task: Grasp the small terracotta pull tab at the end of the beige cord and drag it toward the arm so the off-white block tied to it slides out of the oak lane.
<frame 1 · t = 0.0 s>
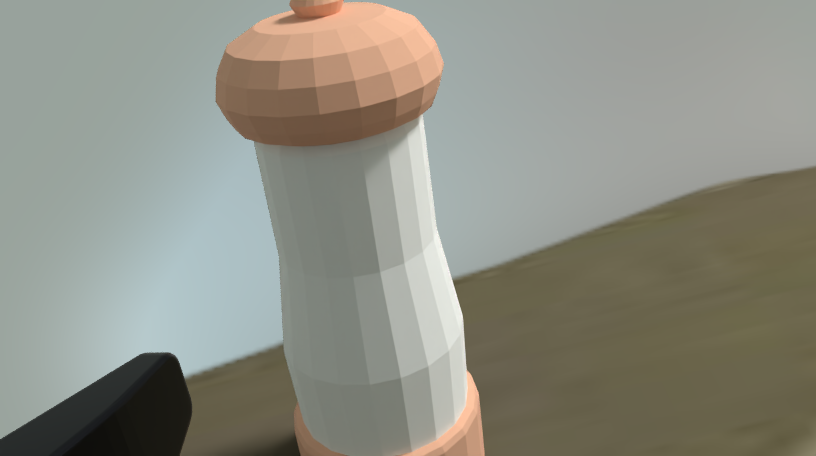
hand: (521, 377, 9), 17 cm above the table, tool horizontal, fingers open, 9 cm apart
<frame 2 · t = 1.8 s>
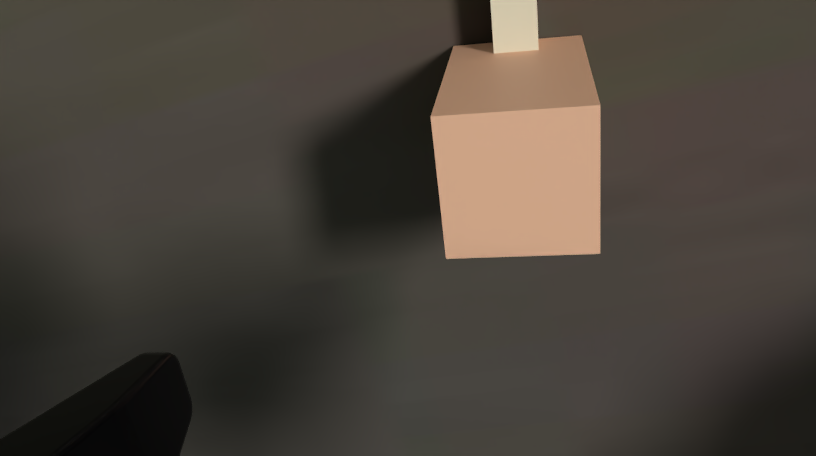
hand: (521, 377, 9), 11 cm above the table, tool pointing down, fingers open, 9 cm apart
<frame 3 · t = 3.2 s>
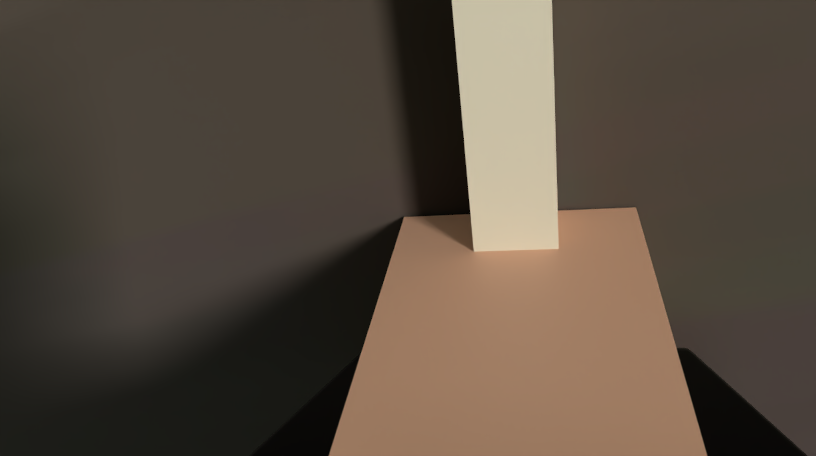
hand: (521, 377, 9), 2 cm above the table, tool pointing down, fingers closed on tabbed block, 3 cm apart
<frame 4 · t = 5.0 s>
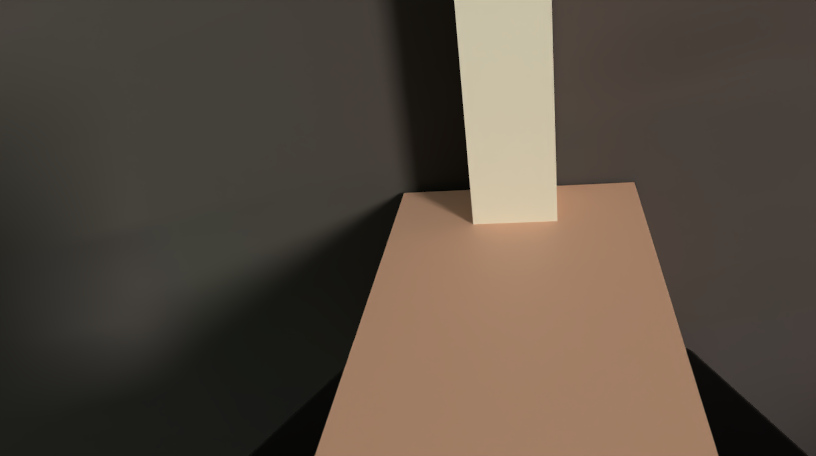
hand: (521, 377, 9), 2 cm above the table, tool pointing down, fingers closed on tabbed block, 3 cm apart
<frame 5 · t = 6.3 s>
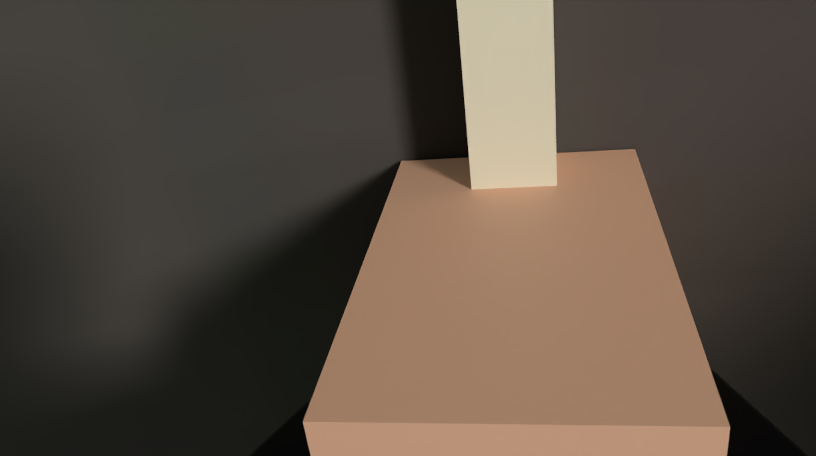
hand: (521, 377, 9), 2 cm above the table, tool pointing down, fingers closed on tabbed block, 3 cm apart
when the fingers open (2 cm above the table, at t = 6.8 s): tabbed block stays where it is, on the table.
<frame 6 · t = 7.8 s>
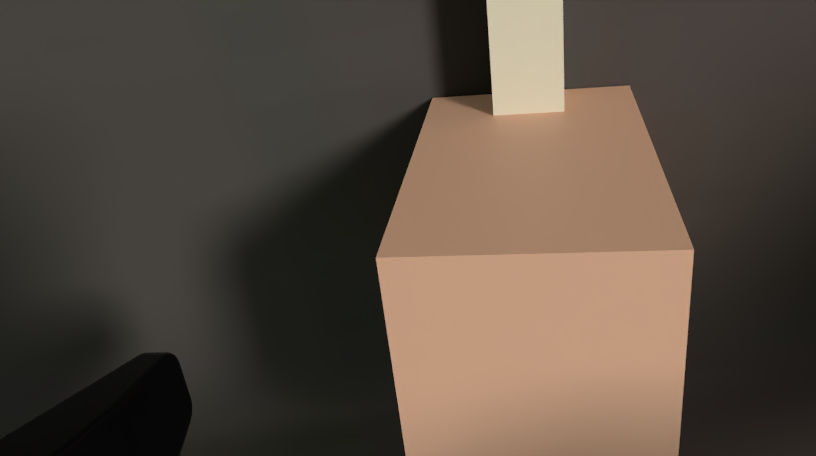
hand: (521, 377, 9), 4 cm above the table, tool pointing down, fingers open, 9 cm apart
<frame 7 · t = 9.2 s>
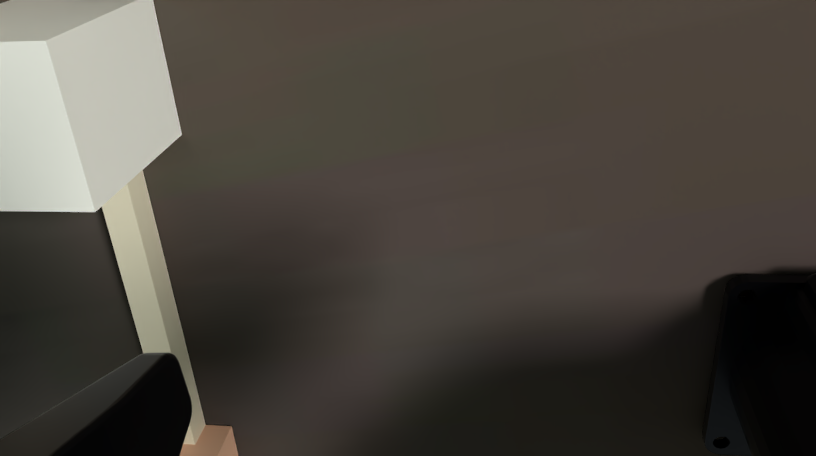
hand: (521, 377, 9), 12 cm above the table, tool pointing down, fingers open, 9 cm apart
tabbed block: (101, 68, 21), on the table
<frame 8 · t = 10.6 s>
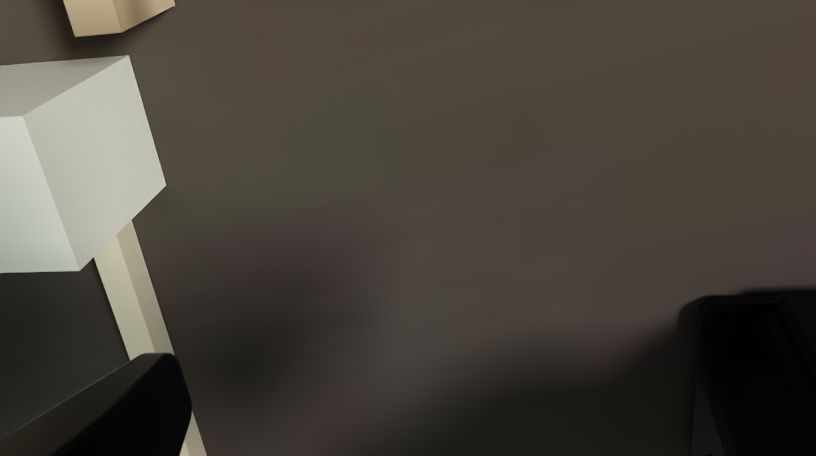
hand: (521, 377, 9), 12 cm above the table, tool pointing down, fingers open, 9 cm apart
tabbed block: (86, 126, 22), on the table
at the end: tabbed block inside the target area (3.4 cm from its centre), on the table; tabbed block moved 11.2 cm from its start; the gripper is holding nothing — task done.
